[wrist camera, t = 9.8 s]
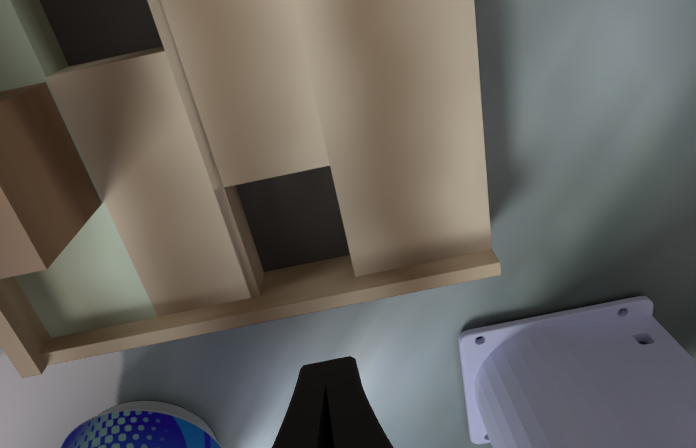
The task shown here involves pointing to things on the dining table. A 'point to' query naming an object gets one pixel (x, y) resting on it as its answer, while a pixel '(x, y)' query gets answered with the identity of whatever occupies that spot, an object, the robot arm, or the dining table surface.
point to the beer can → (143, 428)
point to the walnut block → (38, 182)
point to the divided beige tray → (248, 163)
